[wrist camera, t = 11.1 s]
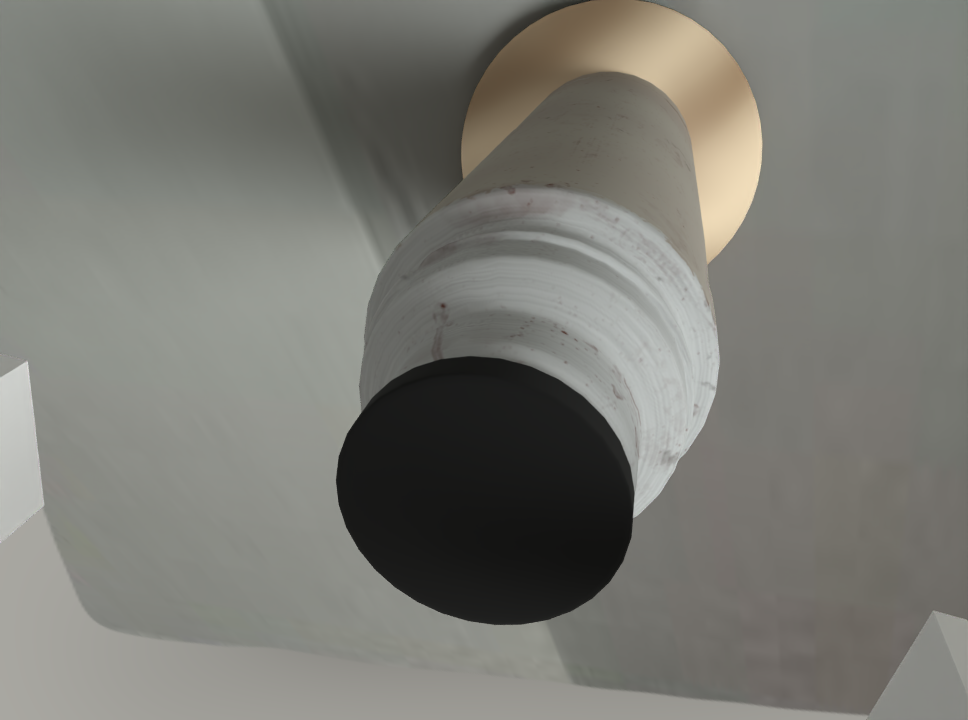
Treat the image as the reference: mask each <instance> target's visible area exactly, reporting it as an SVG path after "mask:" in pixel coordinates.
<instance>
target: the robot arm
mask: <svg viewBox="0 0 968 720" xmlns="http://www.w3.org/2000/svg"><path fill="white" fill-rule="evenodd" d="M43 506H44V499H43V490H42V482H41V473H40V464H39V455H38V447H37V438H36V429H35V421H34V412H33V403H32V395H31V386H30V377H29V368H28V361H26V360H23V359H19V358H15V357H12V356H8V355H5V354H1V353H0V543H1V542H2V541H4V540H5V539H6V538H7V537H8V536H9V535H11V534H12V533H13V532H14V531H15V530H16V529H18V528H19V527H20V526H21V525H22V524H24V523H25V522H26V521H27V520H28V519H29V518H31V517H32V516H33V515H34V514H35V513H36V512H38V511H39V510H40V509H41V508H42V507H43ZM866 720H968V620H965V619H962V618H958V617H955V616H951V615H947V614H944V613H940V612H936V611H933V612H932V613H931V615H930V617H929V618H928V620H927V622H926V623H925V625H924V626H923V628H922V630H921V631H920V633H919V635H918V636H917V638H916V640H915V641H914V643H913V644H912V646H911V648H910V649H909V651H908V653H907V654H906V656H905V657H904V659H903V661H902V662H901V664H900V666H899V667H898V669H897V670H896V672H895V674H894V675H893V677H892V679H891V680H890V682H889V683H888V685H887V687H886V688H885V690H884V692H883V693H882V695H881V697H880V698H879V700H878V701H877V703H876V705H875V706H874V708H873V710H872V711H871V713H870V714H869V716H868V718H867V719H866Z"/></svg>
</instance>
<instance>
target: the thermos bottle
mask: <svg viewBox="0 0 968 720" xmlns="http://www.w3.org/2000/svg"><path fill="white" fill-rule="evenodd" d="M364 340H365V346H364V354H363V359H362V367H361V375H360V383H359V390H360V401H361V412H362V413H361V414H360V416H359V417H358V418H357V420H356V421H355V423H354V424H353V426H352V427H351V429H350V430H349V432H348V433H347V436H346V438H345V441H344V444H343V447H342V449H341V452H340V455H339V459H338V468H337V476H336V485H337V493H338V502H339V507H340V510H341V513H342V516H343V519H344V522H345V525H346V528H347V529H348V531H349V533H350V535H351V537H352V538H353V540H354V542H355V544H356V545H357V547H358V549H359V550H360V552H361V553H362V554H363V555H364V556H365V558H366V559H367V560H368V561H369V563H370V564H371V565H372V566H373V568H374V569H375V570H376V571H377V572H378V573H380V574H381V575H382V576H383V577H384V578H385V579H386V580H387V581H389V582H390V583H391V584H392V585H393V586H394V587H395V588H397V589H399V590H400V591H402V592H403V593H405V594H406V595H408V596H409V597H411V598H412V599H414V600H415V601H417V602H419V603H421V604H423V605H425V606H428V607H430V608H432V609H434V610H436V611H438V612H441V613H443V614H447V615H450V616H453V617H457V618H460V619H463V620H467V621H472V622H479V623H486V624H493V625H520V624H527V623H533V622H539V621H544V620H549V619H551V618H554V617H557V616H560V615H562V614H565V613H568V612H571V611H572V610H574V609H576V608H577V607H579V606H581V605H582V604H584V603H586V602H587V601H589V600H591V599H592V598H593V597H594V596H595V595H596V594H597V593H599V592H600V591H601V590H602V589H603V588H604V587H605V586H606V585H607V584H608V583H609V582H610V581H611V579H612V578H613V576H614V575H615V573H616V571H617V570H618V568H619V567H620V565H621V564H622V562H623V560H624V557H625V554H626V551H627V548H628V546H629V543H630V540H631V536H632V524H633V518H634V517H636V516H637V515H639V514H640V513H641V512H642V511H643V510H644V509H645V508H646V507H647V506H648V505H649V504H650V503H651V502H652V501H653V500H654V499H655V498H656V497H657V496H658V495H659V494H660V492H661V491H662V489H663V487H664V486H665V484H666V483H667V481H668V480H669V478H670V477H671V475H672V473H673V472H674V470H675V467H676V465H677V462H678V460H679V459H680V458H681V457H682V456H683V455H684V454H685V453H686V452H687V450H688V449H689V447H690V446H691V444H692V443H693V441H694V440H695V438H696V436H697V435H698V433H699V432H700V430H701V429H702V427H703V426H704V424H705V421H706V418H707V415H708V413H709V410H710V407H711V405H712V402H713V399H714V396H715V394H716V386H717V378H718V370H719V362H720V357H719V347H718V337H717V327H716V319H715V311H714V304H713V299H712V294H711V290H710V286H709V282H708V269H707V259H706V249H705V239H704V231H703V224H702V217H701V209H700V202H699V195H698V188H697V180H696V173H695V166H694V158H693V151H692V144H691V138H690V135H689V131H688V128H687V125H686V122H685V120H684V118H683V116H682V115H681V113H680V111H679V109H678V108H677V106H676V105H675V104H674V103H673V101H672V100H671V99H670V98H669V97H668V96H667V95H666V94H665V93H664V92H663V91H662V90H660V89H659V88H657V87H656V86H655V85H653V84H652V83H650V82H648V81H646V80H644V79H642V78H639V77H637V76H635V75H630V74H626V73H621V72H597V73H592V74H586V75H582V76H580V77H578V78H575V79H573V80H571V81H568V82H566V83H565V84H563V85H562V86H560V87H559V88H557V89H556V90H554V91H553V92H552V93H551V94H550V95H549V96H548V97H547V98H546V99H545V100H544V101H543V102H541V103H540V104H539V105H538V106H537V107H536V108H535V109H534V110H533V111H532V112H531V114H530V115H529V116H528V117H527V118H526V119H525V120H524V121H523V122H522V123H521V124H520V125H519V126H518V127H517V128H516V129H515V130H513V131H512V132H511V133H510V134H509V135H508V136H507V137H506V138H505V139H504V140H503V141H502V142H501V143H500V144H499V145H498V146H497V147H496V148H495V149H494V150H493V151H492V152H491V153H490V154H489V155H488V156H487V157H486V158H485V159H484V160H483V161H482V162H481V163H480V164H479V165H478V166H476V167H475V168H474V169H473V170H472V171H471V172H470V173H469V174H468V175H467V176H466V177H465V178H464V179H463V180H462V181H461V182H460V183H459V184H458V185H457V186H456V187H455V188H454V189H453V190H452V191H451V192H450V193H449V194H448V195H447V196H446V197H445V198H444V199H443V200H442V201H441V202H440V203H439V204H438V205H437V206H436V207H435V208H434V209H433V210H432V211H431V212H430V213H429V214H428V215H427V216H426V217H425V218H424V219H423V220H422V221H421V222H420V223H419V224H418V225H417V226H416V227H415V228H414V229H413V230H412V231H411V232H410V233H409V234H408V235H407V236H406V237H405V238H404V239H403V240H402V241H401V242H400V243H399V244H398V245H397V246H396V248H395V249H394V251H393V252H392V254H391V256H390V257H389V259H388V260H387V262H386V264H385V265H384V267H383V269H382V270H381V272H380V273H379V275H378V278H377V281H376V284H375V286H374V289H373V292H372V295H371V298H370V301H369V304H368V309H367V317H366V326H365V334H364Z"/></svg>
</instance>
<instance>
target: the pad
mask: <svg viewBox="0 0 968 720" xmlns="http://www.w3.org/2000/svg"><path fill="white" fill-rule="evenodd" d="M597 72H621V73H626V74H630V75H635V76H637V77H639V78H642V79H644V80H646V81H648V82H650V83H652V84H653V85H655V86H656V87H657V88H659V89H660V90H662V91H663V92H664V93H665V94H666V95H667V96H668V97H669V98H670V99H671V100H672V101H673V103H674V104H675V105H676V106H677V108H678V109H679V111H680V113H681V115H682V116H683V118H684V120H685V122H686V125H687V128H688V131H689V135H690V138H691V144H692V151H693V158H694V166H695V173H696V180H697V188H698V195H699V202H700V209H701V217H702V224H703V231H704V239H705V249H706V259H707V264H708V263H709V262H710V261H711V260H712V259H714V258H715V257H716V256H717V255H718V254H719V253H720V252H721V251H722V249H723V248H724V247H725V246H726V245H727V243H728V242H729V241H730V240H731V239H732V237H733V236H734V234H735V233H736V231H737V229H738V228H739V226H740V225H741V223H742V222H743V220H744V218H745V216H746V213H747V211H748V209H749V207H750V205H751V203H752V200H753V197H754V193H755V190H756V187H757V184H758V179H759V174H760V168H761V161H762V134H761V124H760V118H759V114H758V110H757V106H756V101H755V99H754V96H753V94H752V91H751V89H750V86H749V84H748V81H747V80H746V78H745V76H744V74H743V73H742V71H741V69H740V67H739V66H738V64H737V62H736V61H735V60H734V58H733V57H732V56H731V55H730V53H729V52H728V51H727V49H726V48H725V47H724V46H723V45H722V44H721V43H720V42H719V41H718V40H717V39H716V38H715V37H714V36H713V35H712V34H711V33H710V32H709V31H708V30H706V29H705V28H703V27H702V26H701V25H699V24H698V23H696V22H695V21H694V20H692V19H691V18H689V17H687V16H685V15H683V14H681V13H679V12H677V11H675V10H673V9H670V8H667V7H664V6H661V5H658V4H655V3H651V2H646V1H640V0H592V1H588V2H584V3H580V4H576V5H572V6H568V7H566V8H563V9H561V10H558V11H556V12H553V13H551V14H548V15H547V16H545V17H543V18H541V19H540V20H538V21H536V22H534V23H533V24H531V25H530V26H528V27H527V28H526V29H524V30H523V31H522V32H520V33H519V34H518V35H517V36H515V37H514V38H513V39H512V40H511V41H510V42H509V43H508V44H507V45H506V46H505V47H504V48H503V49H502V50H501V51H500V52H499V53H498V55H497V56H496V57H495V59H494V60H493V61H492V62H491V64H490V65H489V66H488V68H487V69H486V71H485V73H484V74H483V76H482V78H481V80H480V81H479V83H478V85H477V87H476V89H475V92H474V94H473V97H472V99H471V101H470V104H469V107H468V111H467V115H466V118H465V122H464V128H463V135H462V142H461V164H462V173H463V179H464V178H465V177H466V176H467V175H468V174H469V173H470V172H471V171H472V170H473V169H474V168H475V167H476V166H478V165H479V164H480V163H481V162H482V161H483V160H484V159H485V158H486V157H487V156H488V155H489V154H490V153H491V152H492V151H493V150H494V149H495V148H496V147H497V146H498V145H499V144H500V143H501V142H502V141H503V140H504V139H505V138H506V137H507V136H508V135H509V134H510V133H511V132H512V131H513V130H515V129H516V128H517V127H518V126H519V125H520V124H521V123H522V122H523V121H524V120H525V119H526V118H527V117H528V116H529V115H530V114H531V112H532V111H533V110H534V109H535V108H536V107H537V106H538V105H539V104H540V103H541V102H543V101H544V100H545V99H546V98H547V97H548V96H549V95H550V94H551V93H552V92H553V91H554V90H556V89H557V88H559V87H560V86H562V85H563V84H565V83H566V82H568V81H571V80H573V79H575V78H578V77H580V76H582V75H586V74H592V73H597Z"/></svg>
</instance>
